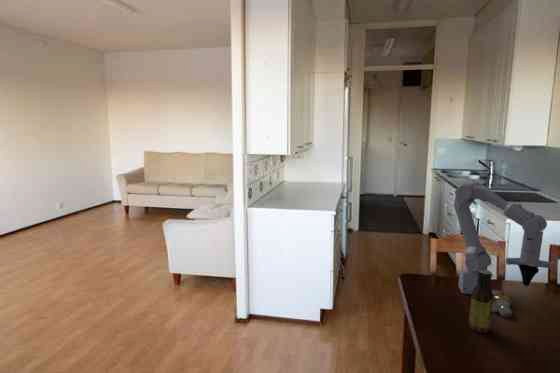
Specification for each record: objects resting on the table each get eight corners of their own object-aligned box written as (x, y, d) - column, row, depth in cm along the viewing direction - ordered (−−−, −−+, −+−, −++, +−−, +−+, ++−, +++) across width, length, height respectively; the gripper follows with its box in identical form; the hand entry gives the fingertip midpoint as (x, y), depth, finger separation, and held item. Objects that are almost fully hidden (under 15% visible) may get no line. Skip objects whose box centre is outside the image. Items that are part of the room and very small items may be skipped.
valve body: (493, 315, 134) (495, 304, 133) (482, 297, 148) (483, 287, 147) (511, 318, 133) (512, 306, 132) (497, 299, 147) (499, 288, 146)
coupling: (495, 307, 140) (496, 297, 139) (491, 303, 144) (492, 293, 143) (509, 309, 139) (511, 299, 138) (506, 304, 143) (507, 294, 142)
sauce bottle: (492, 335, 122) (500, 277, 119) (471, 332, 124) (478, 275, 120) (485, 324, 129) (492, 269, 125) (465, 322, 130) (472, 267, 126)
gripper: (512, 250, 133) (507, 286, 136) (559, 255, 130) (553, 291, 133) (505, 244, 140) (500, 278, 143) (549, 248, 137) (544, 283, 140)
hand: (525, 284), depth 138 cm, fingers closed
